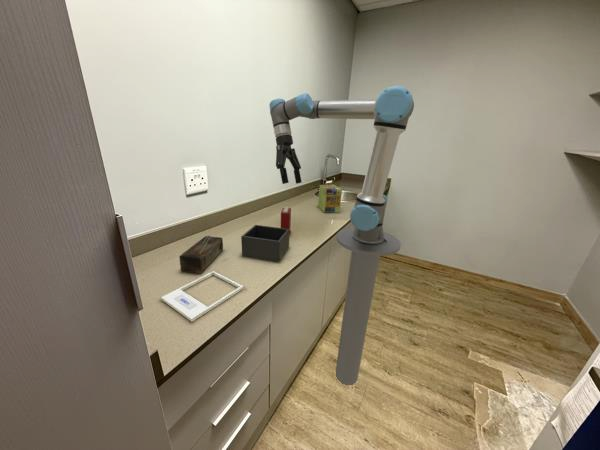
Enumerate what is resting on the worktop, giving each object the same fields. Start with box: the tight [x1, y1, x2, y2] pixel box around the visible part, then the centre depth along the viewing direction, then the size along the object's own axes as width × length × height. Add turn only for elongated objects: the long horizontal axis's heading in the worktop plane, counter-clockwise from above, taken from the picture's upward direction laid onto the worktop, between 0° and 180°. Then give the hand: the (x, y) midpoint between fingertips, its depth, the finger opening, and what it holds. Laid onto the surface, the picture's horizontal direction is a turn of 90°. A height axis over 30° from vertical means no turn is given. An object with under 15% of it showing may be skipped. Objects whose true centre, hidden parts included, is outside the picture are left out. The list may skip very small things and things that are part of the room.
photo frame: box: [160, 270, 244, 323], centre depth 73 cm, size 15×1×18 cm
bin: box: [240, 224, 290, 263], centre depth 100 cm, size 16×14×9 cm
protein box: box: [317, 183, 343, 214], centre depth 160 cm, size 10×15×16 cm
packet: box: [280, 206, 292, 236], centre depth 118 cm, size 4×8×13 cm, turn 176°
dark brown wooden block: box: [178, 235, 224, 274], centre depth 91 cm, size 8×19×7 cm, turn 173°
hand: (292, 183), depth 111 cm, fingers open, 13 cm apart
